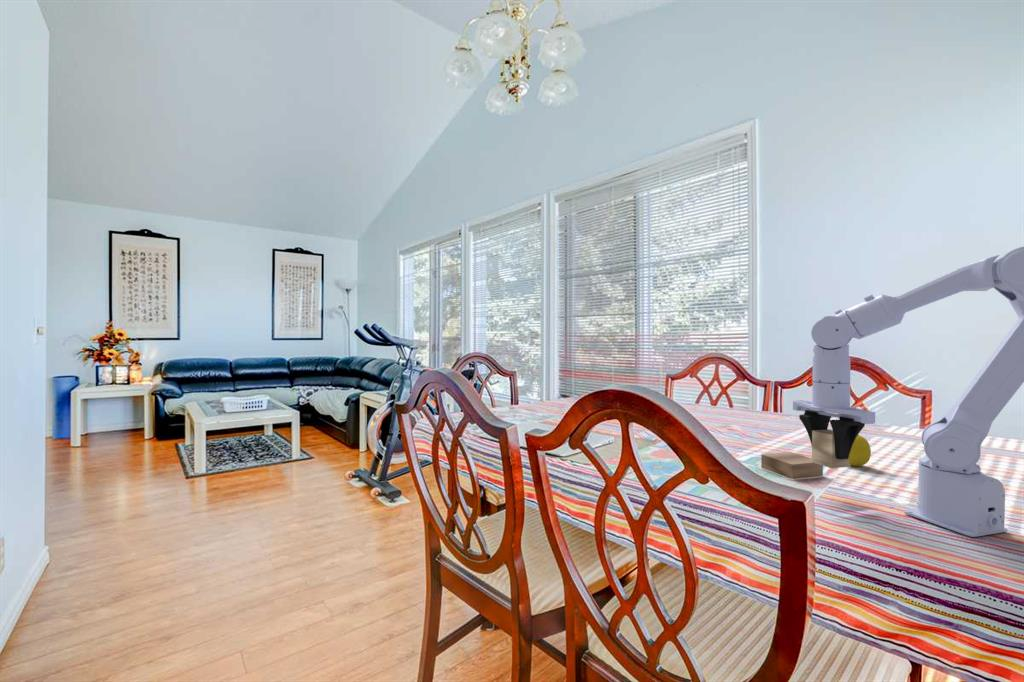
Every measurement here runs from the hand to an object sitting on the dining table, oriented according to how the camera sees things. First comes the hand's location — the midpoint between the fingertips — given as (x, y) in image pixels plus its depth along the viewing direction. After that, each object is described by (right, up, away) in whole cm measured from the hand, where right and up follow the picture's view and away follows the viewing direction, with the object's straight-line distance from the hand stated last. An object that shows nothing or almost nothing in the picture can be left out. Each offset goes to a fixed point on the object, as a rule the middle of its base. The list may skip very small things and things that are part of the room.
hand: (830, 455), depth 83 cm
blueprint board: (+3, -8, +13) cm, 16 cm away
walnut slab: (+1, -7, +14) cm, 16 cm away
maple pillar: (0, -2, 0) cm, 2 cm away
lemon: (+19, -8, +19) cm, 28 cm away
